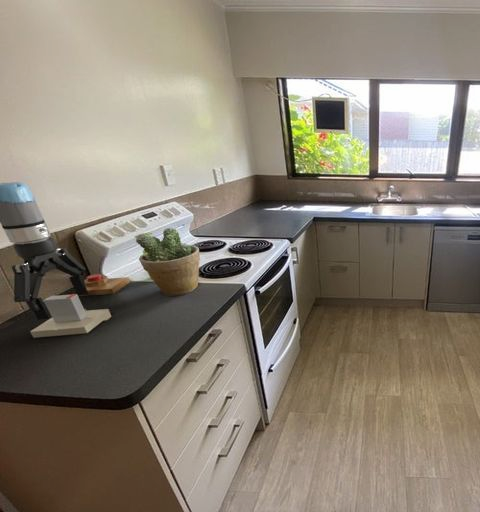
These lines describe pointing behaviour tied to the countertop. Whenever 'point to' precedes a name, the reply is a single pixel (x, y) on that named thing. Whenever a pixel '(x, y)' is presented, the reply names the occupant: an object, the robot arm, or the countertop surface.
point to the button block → (105, 285)
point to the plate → (71, 325)
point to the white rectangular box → (65, 308)
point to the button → (94, 277)
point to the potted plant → (170, 262)
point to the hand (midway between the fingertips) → (65, 305)
